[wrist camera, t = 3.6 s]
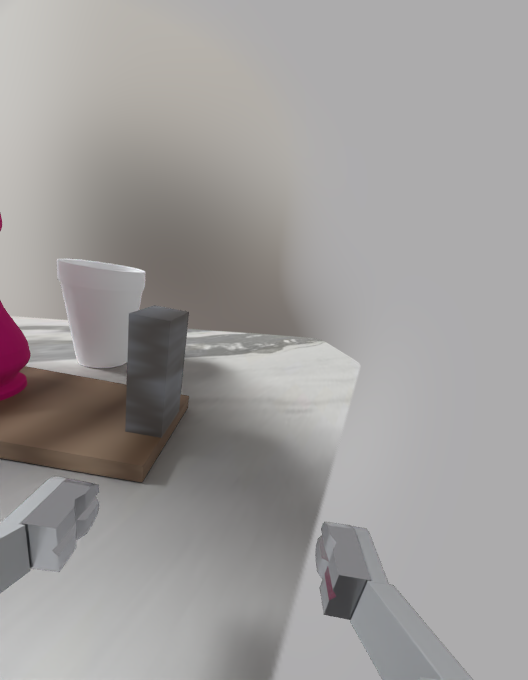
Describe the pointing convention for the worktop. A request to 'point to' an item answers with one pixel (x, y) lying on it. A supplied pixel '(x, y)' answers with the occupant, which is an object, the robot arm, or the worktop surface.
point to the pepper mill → (11, 354)
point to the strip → (104, 406)
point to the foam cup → (100, 308)
